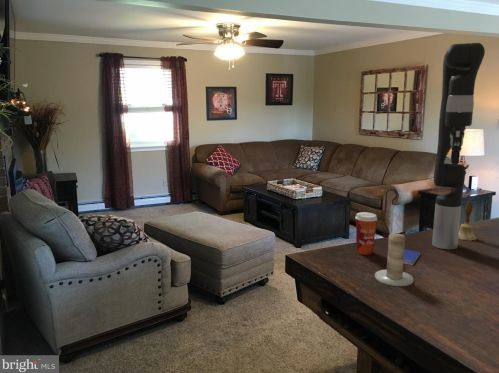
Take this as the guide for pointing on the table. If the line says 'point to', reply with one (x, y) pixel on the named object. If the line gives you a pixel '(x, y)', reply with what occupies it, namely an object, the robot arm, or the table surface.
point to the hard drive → (410, 257)
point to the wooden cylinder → (395, 256)
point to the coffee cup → (365, 232)
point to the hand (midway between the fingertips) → (454, 161)
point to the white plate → (404, 281)
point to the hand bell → (467, 225)
